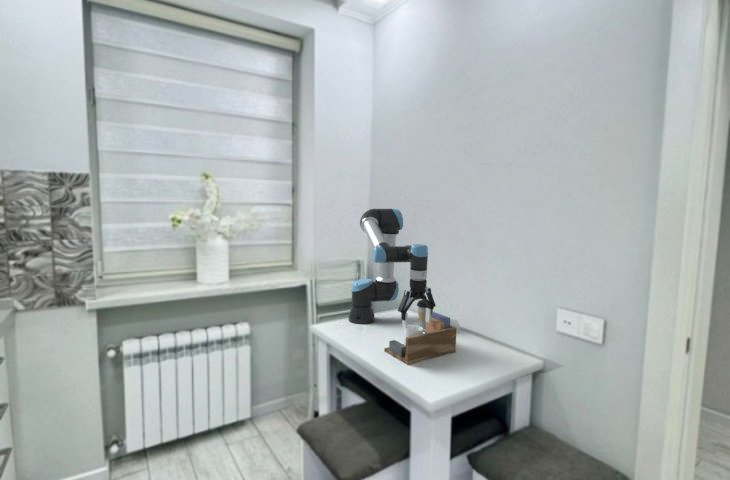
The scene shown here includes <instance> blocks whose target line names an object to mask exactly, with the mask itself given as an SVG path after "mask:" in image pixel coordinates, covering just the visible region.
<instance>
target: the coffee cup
mask: <svg viewBox="0 0 730 480" xmlns="http://www.w3.org/2000/svg"><path fill="white" fill-rule="evenodd" d="M417 301H418V302H417V303H416V306H417V315H418V324H419V325H418V326H420V327H422V328H423V329H425V327H426V321H425V317H426V308H428V307H427V306H426V304H425V303H424V301H423V300H422V299H419V300H417ZM428 301H429V300H428ZM432 312H434V309H432Z"/></svg>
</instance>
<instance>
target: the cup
mask: <svg viewBox="0 0 730 480" xmlns="http://www.w3.org/2000/svg"><path fill="white" fill-rule="evenodd" d="M403 332H404V334H403V344H404V345H405V346H406V337H410V336H414V335H419V334H424V333H427V331H426V330H425V329H423V328H422V327H420V326H419V325H413V324H412V325H410V324H407V328H405V327H404V331H403Z"/></svg>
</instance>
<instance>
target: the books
mask: <svg viewBox="0 0 730 480" xmlns="http://www.w3.org/2000/svg"><path fill="white" fill-rule="evenodd" d="M450 325H451V317H450V316H449V317H448V316H446V315H444V314H440V313H438V312H435V311H433V312H432V314H431V321H430V323H428V322H426V327H425V330H426V331H427V333H428V332H433V331H438V330H442V329H447V328H450Z"/></svg>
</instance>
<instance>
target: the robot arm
mask: <svg viewBox="0 0 730 480" xmlns="http://www.w3.org/2000/svg"><path fill="white" fill-rule="evenodd" d="M361 215H362V216H361V217H360V219H359V226H360V228H361V230H362V232H363V233H365V234H366V236H367V239H368V241H369V242H370V244H371V247H372V250H371V257H372V261H373V262H374V263H377V264H378V275H377V276H376V277H375V281H373V279H371V278H361V279H356V280H355V281H353V282H352V284H351V308H350V311H349V314H348V319H347V320H348V321H349V322H350V323H353V324H359V325H365V324H366V325H367V324H370V323H373V322H375V318H376V317H375V313H374V310H373V303H375V302H376V303H377V302H392V301H393V302H394V301H395V300H396V299H397V297H398V296H399V292H400V291H399V282H398V281H397V279H396V277H394V271H395V263H409V264H410V265H409V266H410V267H409V269H410V270H409V278H410V279H409V290H403V296H402V299H401V301H400V303H399V306H398V308H397V312H399V313H401V315H400V316H401V317H400V318H401V321H402V322H401V324H402V325H401V326H402V327H403V328H404V329H405V328H407V326H408V316H409V315H408V313H407V312H408V310H409V309H410V307H411V306H412V305H413V303H414V302H415V301H419V300H423V301H424V303H425V304H426V306H427V307H428V308H426V317H425V321H426V322H428V323H430V321H431V314H432V309H433V310H434V309H435V308H436V307H437V306H436V302H435V300H434V298H433V297H434V296H433V293H432V288H430V287H427V278H428V258H429V247H428V245H426V244H421V243H416V244H412V245H411V244H409V245H408V244H405V245H404V246H401V245H400V246H398V245H397V246H396V241H397V236H398V235H399V234H400V231H401V230H403V229H404V228H403V227H404V217H403V215H402V212H401V210H399V209H398V208H370V209H369V210H367V211H365V212H364V213H363V214H361ZM428 300H429V301H428Z"/></svg>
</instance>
